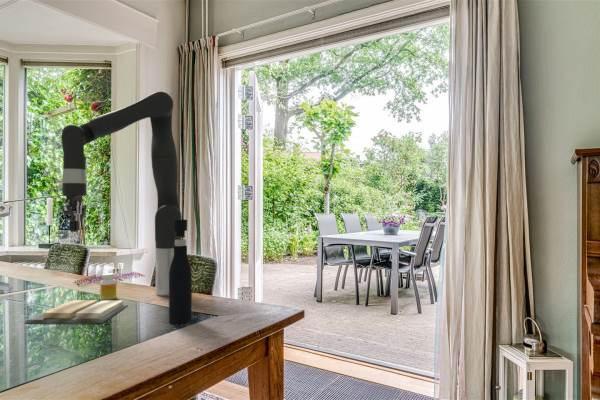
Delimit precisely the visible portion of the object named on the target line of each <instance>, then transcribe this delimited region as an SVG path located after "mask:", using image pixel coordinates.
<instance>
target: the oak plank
mask: <svg viewBox="0 0 600 400" xmlns="http://www.w3.org/2000/svg"><path fill="white" fill-rule="evenodd" d="M96 303H98V300H97V299H96V300H94V299H93V300H92V299H91V300H87V299H82V300H81V299H72V300H70V301H67V302H65V303H63V304H60V305H57V306H58V307H57V306H55V307H53V308H50V309H51V310H50V309H48V310H46V311H43V312H44V313H43V312H42V313H43V318H68V319H71V318H73V317H75V316H76V313H77V312H79V311H81V310H83V309H85V308H87V307H89V306H91V305H93V304H96Z"/></svg>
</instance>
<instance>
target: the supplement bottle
mask: <svg viewBox="0 0 600 400" xmlns="http://www.w3.org/2000/svg"><path fill="white" fill-rule="evenodd" d="M114 276H115V273H114V272H113V273H103V274H101V277H102V279H103V280H101V281H99V283H100V284H99V300H100V301H112V300H116V299H117V281H116V280H115V279H114Z"/></svg>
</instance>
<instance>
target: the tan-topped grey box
mask: <svg viewBox="0 0 600 400" xmlns="http://www.w3.org/2000/svg"><path fill="white" fill-rule="evenodd" d="M58 306H59V305H57V306H56V307H58ZM128 306H129V305H128V304H124V300H116V299H113V300H100V301H97V303H96V304H93V305H91V306H89V307H87V308H85V309H83V310H81V311H79V312H77V313H76V316H75V317H73V318H71V319H68V318H43V313H44V312H45V311H43V312H40V313H39V314H36V315H34V316H32V317H30V318H27V319H26V320H25V322H26V324H104V322H106V321H108V320H109V319H111V318H112V317H114V316H115V315H117V314H118V313H120V312H121V311H123V310H124V309H125V308H127V307H128ZM51 309H52V308H50V309H49V310H51Z"/></svg>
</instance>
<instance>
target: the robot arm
mask: <svg viewBox="0 0 600 400" xmlns="http://www.w3.org/2000/svg"><path fill="white" fill-rule="evenodd" d="M173 110H174V101H173V98H172V96H171V95H170V94H169V93H167V92H164V91H154V92H153V93H151V94H149V95H147V96H146V97H144V98H141V99H140V100H138V101H136V102H134V103H132V104H130V105H127V106H124V107H122V108H120V109H117V110H113V111H110V112H107V113H105V114H104V113H103V114H102V115H98V116H96V117H94V118H91V119H90V120H89V121H88V122H86V123H83V124H81V125H77V124H73V123H72V124H69V125H66V126H65V127H64V128H63V129H62V131H61V145H62V146H61V147H62V151H63V163H62V164H63V165H62V168H63V170H62V176H61V179H62V182H61V183H62V184H61V185H62V186H61V187H62V189H61V190H62V192H61V194H62V196H64V197H65V203H64V204H62V205H60V208H61V210H62V212H63V215H64V217H65V219H66V220H68V221H69V231H70V232H71V233H74V232H79V226H80V224H79V223H80V221H81V220H83V217H84V215H85V212H86V210H87V208H88V207H87V204H84V198H83V197H86V196H87V192H88V191H87V185H88V183H87V170H86V169H87V167H86V166H87V163H86V161H87V160H86V154H85V146H86V145H87V144H90V143H92V142H93V141H96V140H97V139H100V138H102V137H106V136H109V135H111V134H114V133H116V132H119V131H122V130H124V129H125V128H127V127H129V126H131V125H133V124H134V123H137V122H139V121H142V120H145V119H148V118H149V119H150V125H151V134H152V135H151V147H150V151H151V152H150V153H151V155H150V157H151V169H152V176H153V181H154V184H155V188H156V196H157V210H156V212H155V215H154V241H155V288H154V289H155V290H154V291H155V295H156V296H166V297H167V296H169V270H170V265H171V262H172V259H173V256H174V246H175V240H176V239H182V238H176V231H174V220H182V212H181V208H180V204H179V197H178V180H179V179H178V176H179V175H178V171H179V170H178V167H179V166H178V155H177V148H176V144H175V139H174V135H173V129H172V127H173V125H172V124H173Z"/></svg>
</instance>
